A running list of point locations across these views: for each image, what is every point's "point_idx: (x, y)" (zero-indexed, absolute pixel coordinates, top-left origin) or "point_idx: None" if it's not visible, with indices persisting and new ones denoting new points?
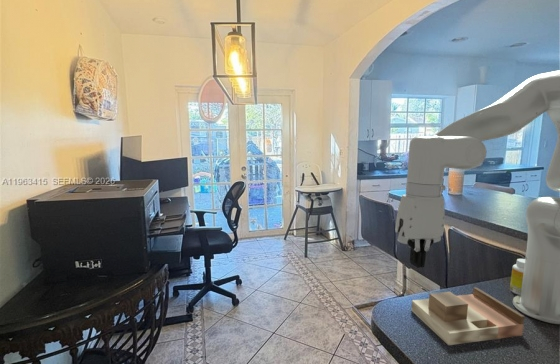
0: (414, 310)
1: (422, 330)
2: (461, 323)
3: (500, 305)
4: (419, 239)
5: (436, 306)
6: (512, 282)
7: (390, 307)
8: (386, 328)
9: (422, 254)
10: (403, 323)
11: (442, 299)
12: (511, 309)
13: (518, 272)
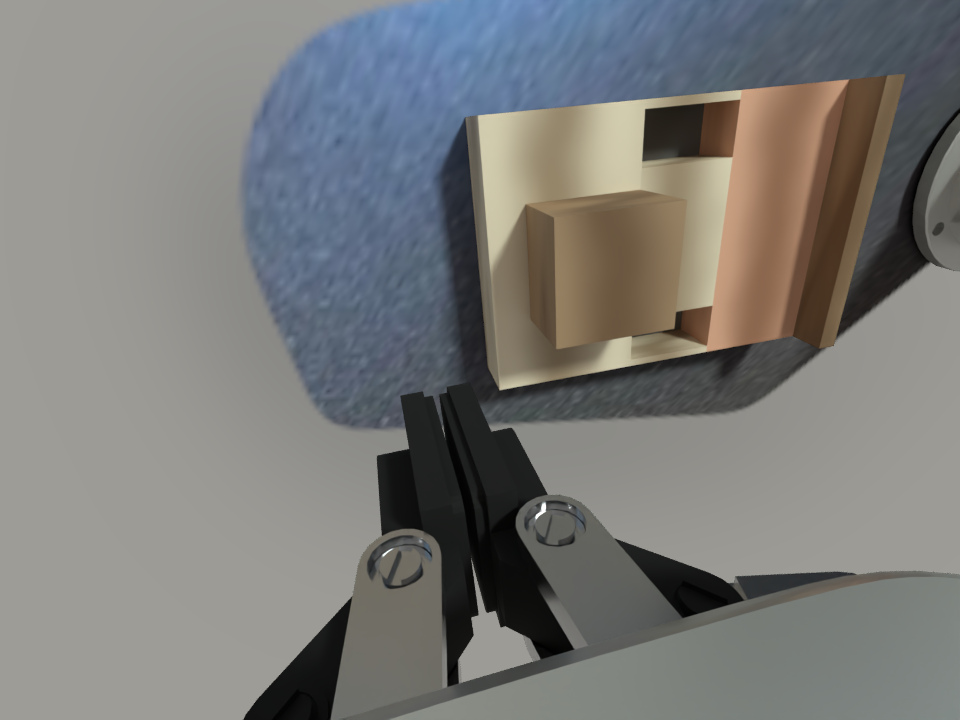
0: (470, 147)
1: (437, 282)
2: None
3: (836, 256)
4: (572, 631)
5: (541, 271)
6: None
7: (357, 68)
8: (272, 263)
9: (482, 597)
10: (373, 229)
11: (584, 284)
12: (838, 299)
13: None
